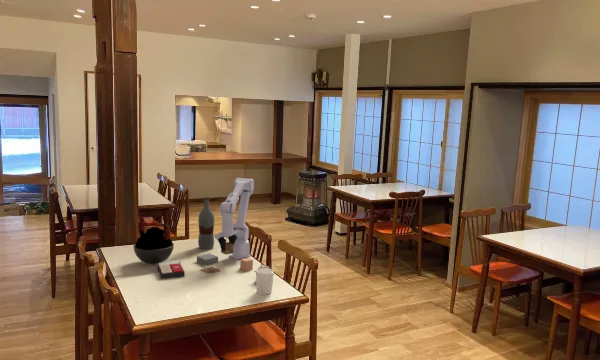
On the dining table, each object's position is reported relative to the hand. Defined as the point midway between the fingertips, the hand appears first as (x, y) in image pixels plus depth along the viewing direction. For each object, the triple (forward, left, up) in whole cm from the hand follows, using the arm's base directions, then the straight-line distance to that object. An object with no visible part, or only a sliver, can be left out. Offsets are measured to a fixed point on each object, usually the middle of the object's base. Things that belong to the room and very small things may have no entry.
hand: (227, 250), depth 247 cm
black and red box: (+28, -8, -9) cm, 31 cm away
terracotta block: (-5, +10, -8) cm, 14 cm away
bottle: (-9, -34, -9) cm, 36 cm away
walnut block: (0, 0, -2) cm, 2 cm away
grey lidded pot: (-1, +29, -9) cm, 30 cm away
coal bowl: (+28, -26, -9) cm, 39 cm away
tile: (+11, +1, -8) cm, 14 cm away
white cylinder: (+8, +40, -9) cm, 42 cm away
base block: (+5, -11, -9) cm, 15 cm away
